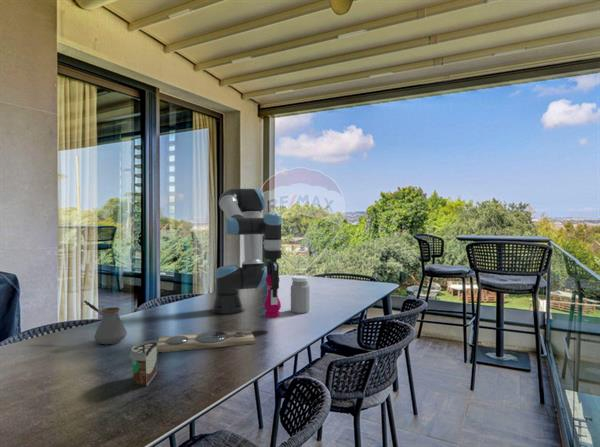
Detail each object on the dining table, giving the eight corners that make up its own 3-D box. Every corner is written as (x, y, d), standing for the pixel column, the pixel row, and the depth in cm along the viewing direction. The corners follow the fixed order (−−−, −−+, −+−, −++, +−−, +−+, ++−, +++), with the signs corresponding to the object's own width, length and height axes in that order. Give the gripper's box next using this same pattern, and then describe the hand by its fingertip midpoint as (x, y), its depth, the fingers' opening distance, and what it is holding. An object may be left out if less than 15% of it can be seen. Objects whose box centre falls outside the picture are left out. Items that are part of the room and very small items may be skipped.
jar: (287, 312, 189) (287, 277, 189) (295, 308, 198) (295, 274, 198) (305, 314, 185) (305, 278, 185) (312, 310, 195) (312, 275, 194)
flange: (166, 338, 145) (166, 337, 145) (188, 336, 147) (188, 335, 147) (165, 345, 137) (165, 343, 137) (187, 343, 139) (187, 341, 139)
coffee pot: (133, 339, 148) (133, 302, 148) (108, 348, 138) (107, 308, 138) (96, 332, 157) (96, 297, 157) (70, 341, 147) (70, 303, 146)
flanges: (196, 334, 150) (196, 332, 150) (243, 330, 155) (243, 328, 155) (196, 344, 138) (196, 342, 138) (247, 339, 143) (247, 337, 143)
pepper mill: (278, 319, 157) (278, 271, 156) (262, 317, 158) (262, 271, 157) (282, 314, 164) (282, 269, 163) (266, 313, 165) (266, 268, 164)
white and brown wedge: (138, 371, 118) (137, 340, 117) (158, 370, 118) (157, 339, 118) (122, 389, 105) (122, 354, 105) (145, 388, 106) (144, 353, 106)
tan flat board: (159, 340, 147) (159, 336, 147) (250, 332, 157) (250, 329, 157) (155, 353, 133) (155, 348, 133) (255, 343, 143) (255, 339, 143)
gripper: (260, 247, 168) (260, 297, 169) (268, 252, 149) (268, 308, 150) (276, 247, 170) (276, 296, 171) (286, 251, 152) (286, 307, 152)
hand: (272, 302), depth 161 cm, fingers closed on pepper mill, 6 cm apart
